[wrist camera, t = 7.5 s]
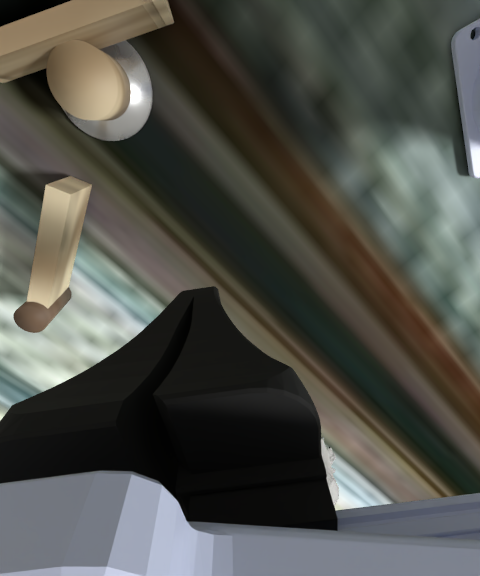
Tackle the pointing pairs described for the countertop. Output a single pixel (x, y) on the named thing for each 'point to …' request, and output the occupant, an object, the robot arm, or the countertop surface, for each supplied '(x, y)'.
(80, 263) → the countertop surface
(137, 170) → the countertop surface
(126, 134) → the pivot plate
